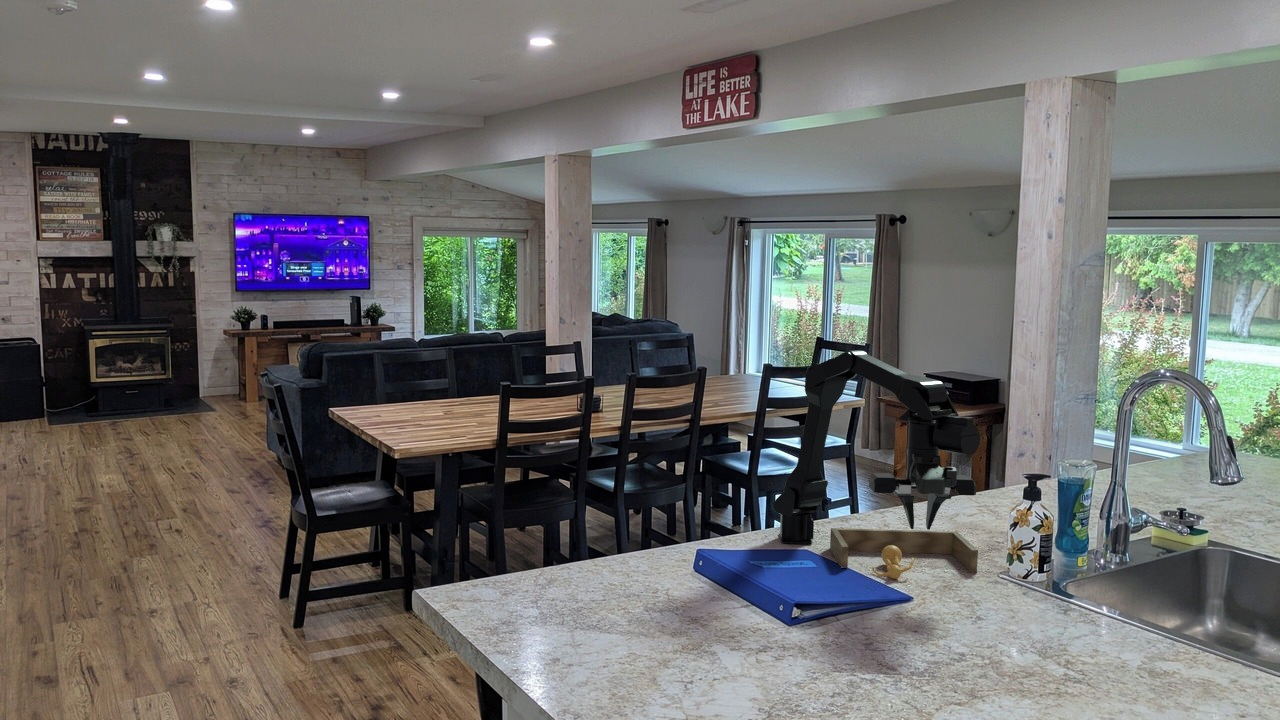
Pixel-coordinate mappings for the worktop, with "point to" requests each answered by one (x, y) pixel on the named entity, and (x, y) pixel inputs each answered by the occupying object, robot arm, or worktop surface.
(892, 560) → the figurine
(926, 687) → the worktop surface
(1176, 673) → the worktop surface
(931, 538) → the three-sided wooden wall
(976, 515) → the worktop surface
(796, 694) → the worktop surface
